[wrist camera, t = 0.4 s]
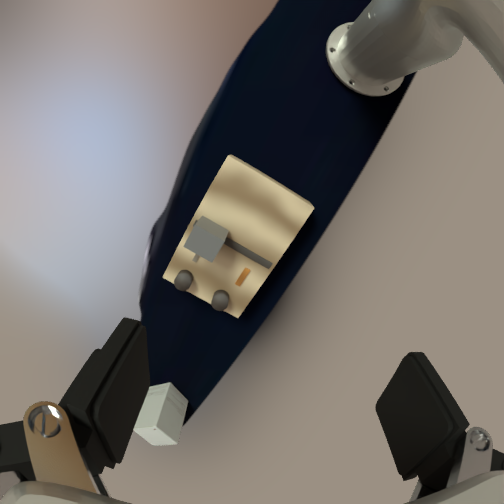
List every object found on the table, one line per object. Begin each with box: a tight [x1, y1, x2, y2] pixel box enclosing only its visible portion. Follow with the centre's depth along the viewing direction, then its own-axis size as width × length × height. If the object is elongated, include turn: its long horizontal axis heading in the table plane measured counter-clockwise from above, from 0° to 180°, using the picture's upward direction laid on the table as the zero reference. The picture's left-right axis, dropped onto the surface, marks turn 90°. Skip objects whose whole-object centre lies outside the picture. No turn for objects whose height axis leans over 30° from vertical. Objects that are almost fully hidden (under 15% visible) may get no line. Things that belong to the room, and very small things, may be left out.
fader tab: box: [183, 215, 229, 263], centre depth 35 cm, size 3×4×4 cm
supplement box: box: [133, 383, 188, 446], centre depth 50 cm, size 7×7×13 cm
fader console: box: [163, 155, 314, 318], centre depth 39 cm, size 20×13×6 cm, turn 149°
